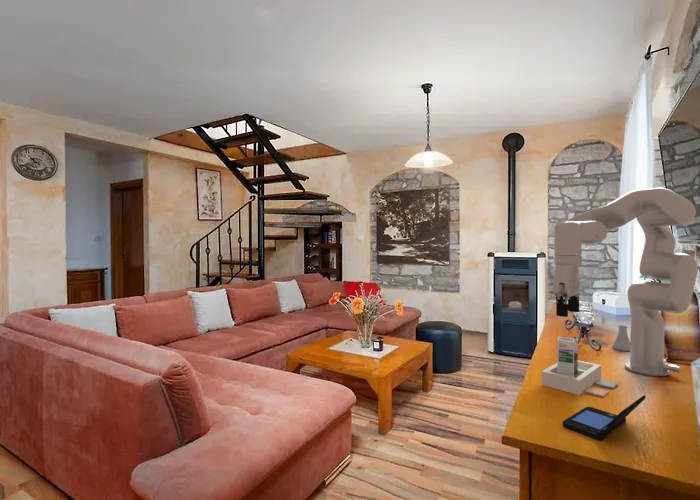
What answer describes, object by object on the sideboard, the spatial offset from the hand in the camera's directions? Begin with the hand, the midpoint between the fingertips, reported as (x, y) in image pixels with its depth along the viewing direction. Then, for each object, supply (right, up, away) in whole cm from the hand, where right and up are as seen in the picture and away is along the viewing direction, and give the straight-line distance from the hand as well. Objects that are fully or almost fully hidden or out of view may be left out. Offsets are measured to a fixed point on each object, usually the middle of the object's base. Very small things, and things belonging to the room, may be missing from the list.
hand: (567, 313), depth 124 cm
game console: (-6, -25, -27) cm, 37 cm away
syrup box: (0, -23, +1) cm, 23 cm away
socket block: (+5, -23, +2) cm, 24 cm away
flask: (+46, -22, +40) cm, 64 cm away
